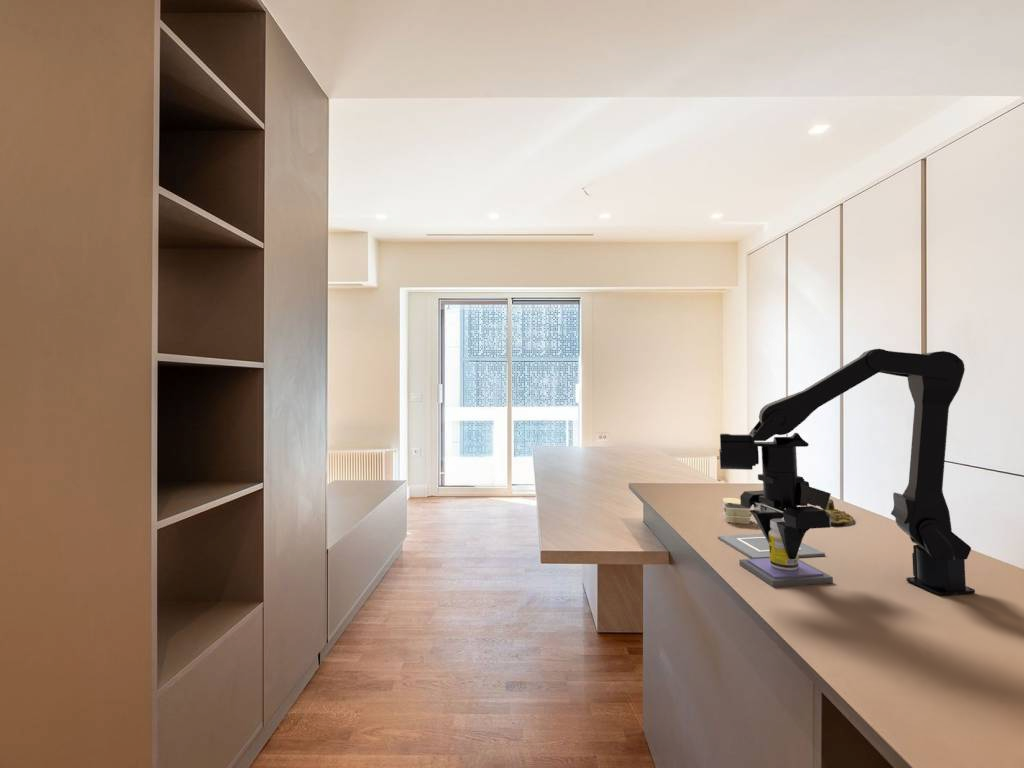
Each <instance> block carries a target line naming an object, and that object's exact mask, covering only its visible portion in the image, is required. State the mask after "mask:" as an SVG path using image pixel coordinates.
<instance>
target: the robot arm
mask: <svg viewBox="0 0 1024 768" xmlns="http://www.w3.org/2000/svg"><path fill="white" fill-rule="evenodd" d="M965 370H966V368H965V363H964V360H962V359H961V358H960V357H959V356H958V355H957V354H955V353H952V352H950V351H945V350H940V351H932V352H925V353H913V352H901V351H893V350H885V349H883V348H874V349H869V350H866V351H864V352H863V353H862V354H861V355H859V356H858V357H857V358H855V359H853V360H852V361H849V362H848V363H846V364H845V365H844V366H841V367H840V368H838V369H837V370H835V371H833V372H832V373H829V374H828V375H826V376H825V377H823V378H821V379H820V380H817V382H815V383H813V384H811V385H810V386H807V387H806V388H805V389H803V390H802V391H798V392H796V393H793V394H790V395H787V396H785V397H782V398H780V399H776V400H774V401H771V402H769V403H767V404H765V405H764V406H763V407H762V408H761V409H760V411H759V414H758V419H759V420H758V421H757V423H756V424H755V426H754V427H753V428H752V429H751V430H750V432H749V434H731V433H720V434H719V441H720V442H719V443H720V447H719V451H718V452H719V467H720V470H742V471H743V470H747V471H748V470H751V471H752V470H753V467H755V466H756V465H759V463H760V462H759V461H760V460H759V458H760V457H759V447H761V448H760V449H761V467H762V470H761V471H762V473H759V474H757V480H758V481H762V487H763V489H762V490H746V491H745V490H744V491H743V492H742V494H741V495H740V496H739V497H740V498H739V499H740V501H741V503H740V504H741V505H742V506H744V507H746V508H751V509H752V507H751V506H753V509H752V510H751V509H750V513H751V514H752V516H753V518H754V519H755V521H756V523H757V524H758V526H759V528H760V529H761V532H762V533H763V534H764V536H765V537H766V539H767V541H768V543H769V531H770V530H771V528H770V520H771V519H775V518H781V519H784V521H785V522H776V523H777V526H778V529H779V532H780V535H781V538H782V541H783V544H784V547H785V550H786V553H787V556H788V558H789V559H796V556H797V553H798V550H799V547H800V545H801V542H802V541H803V538H804V536H805V534H806V533H807V532H808V531H809V530H810V529H813V530H814V529H826V528H827V529H829V528H831V527H832V526H831V519H830V515H829V514H828V513H827V512H826V511H825V510H826V509H827V505H828V502H829V499H831V494H832V493H830V492H828V491H824V490H821V489H819V488H815V487H812V486H810V482H809V481H806V480H805V478H804V477H803V476H800V475H798V465H797V464H798V461H797V448H799V447H801V448H802V447H804V448H805V447H809V442H807V441H805V440H804V439H803V438H802V437H801V436H800V434H799V433H798V432H794V433H793V434H792V435H791V436H785V435H787V434H789V433H791V432H792V431H794V430H795V429H796V428H797V427H799V426H800V425H801V424H802V423H803V422H804V421H806V420H807V419H808V417H809V416H811V414H812V413H814V411H817V409H818V408H820V407H821V406H823V405H825V404H827V403H828V402H830V401H832V400H834V399H835V398H838V397H839V396H841V395H842V394H845V393H846V392H847V391H849V390H852V389H853V388H854V387H856V386H858V385H859V384H861V383H863V382H865V381H867V380H868V379H870V378H872V377H873V376H876V374H879V373H881V374H886V375H891V376H898V377H904V378H907V383H908V389H909V391H910V395H911V397H912V400H913V404H914V409H913V411H914V412H913V420H912V421H913V423H912V437H911V449H910V462H909V472H908V473H909V474H908V483H907V486H906V488H905V490H904V492H903V493H898V492H893V494H892V495H893V497H892V498H893V508H892V510H891V511H890V515H892V517H894V519H895V523H896V525H897V527H899V529H901V531H902V532H904V533H906V535H908V536H909V539H910V541H911V542H912V543H914V545H913V547H912V548H913V551H912V553H911V555H912V557H911V558H912V575H913V576H911V577H910V576H909V577H906V579H905V581H906V582H909V583H910V584H912V585H916V586H917V587H920V588H923V589H924V590H927V591H929V592H931V593H933V594H935V595H939V596H948V595H949V596H950V595H963V594H974V593H976V589H975V588H972V587H970V586H967V583H966V563H965V560H967V559H968V558H969V555H970V553H971V551H972V547H971V546H970V545H969V544H968V543H966V542H965V541H964V540H963V539H962V538H961V537H958V535H957V534H956V533H954V532H953V529H952V522H951V515H950V509H949V507H948V504H947V501H946V498H945V496H944V491H943V487H944V485H943V484H944V474H945V472H944V471H945V461H946V450H947V449H946V448H947V447H946V446H947V435H948V423H949V411H950V410H949V409H950V406H951V404H952V402H953V401H954V399H955V397H956V395H957V393H958V392H959V390H960V387H961V383H962V381H963V377H964V374H965ZM775 435H778V436H775ZM783 435H784V436H783ZM772 437H773V441H768V440H769V439H771V438H772ZM818 507H820V508H818ZM822 509H825V510H822ZM802 543H803V542H802Z"/></svg>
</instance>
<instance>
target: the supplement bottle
mask: <svg viewBox="0 0 1024 768" xmlns="http://www.w3.org/2000/svg"><path fill="white" fill-rule="evenodd" d="M776 522H785V521H784V518H782V519H781V518H775V519H771V520H770V528H771V530H770V531H769V552H770V564H771V566H772V567H774V568H777V569H781V570H796V569H798V568H799V560H800V559H799V557H798V553H797V556H796V559H789V558H788V556H787V553H786V550H785V547H784V544H783V541H782V538H781V535H780V532H779V529H778V526H777V523H776ZM798 559H799V560H798Z"/></svg>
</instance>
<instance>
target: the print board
mask: <svg viewBox="0 0 1024 768" xmlns="http://www.w3.org/2000/svg"><path fill="white" fill-rule="evenodd" d="M717 539H718V540H720V541H721V542H723V543H724V544H727V545H728V546H730V547H731V548H733V549H735V550H737V551H738V552H739V553H741V554H743V555H745V556H746V557H748V559H758V558H770V552H769V543H768V541H767V539H766V537H765V536H764V534H763V532H762V533H761V532H760V533H748V534H747V533H746V534H745V533H744V534H730V535H729V534H728V535H727V534H726V535H717ZM825 556H826V554H825V552H823V551H822V550H819V549H817V548H814V547H812V546H810V545H808V544H806V543H804V542H801V545H800V547H799V550H798V558H811V557H825Z"/></svg>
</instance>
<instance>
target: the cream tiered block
mask: <svg viewBox="0 0 1024 768" xmlns="http://www.w3.org/2000/svg"><path fill="white" fill-rule="evenodd" d="M722 501H723V502H722V506H723V511H722V513H723V516H725V521H727V522H726V523H728V522H730V523H729V524H743V525H744V524H745V525H749V524H750V523H751V517H752V516H753V515H752V514H751V513H750V510H751V509H752V506H753V505H752V506H751V508H746V507H744V506H742V505H741V501H740V498H734V497H722Z"/></svg>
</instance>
